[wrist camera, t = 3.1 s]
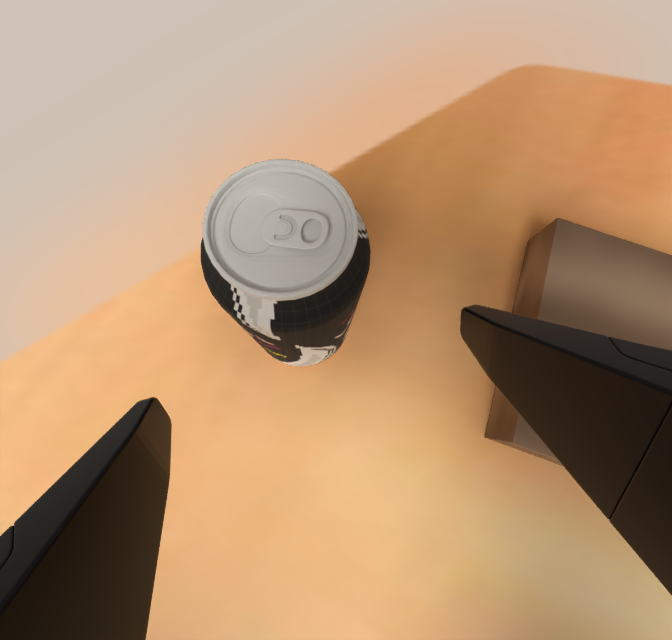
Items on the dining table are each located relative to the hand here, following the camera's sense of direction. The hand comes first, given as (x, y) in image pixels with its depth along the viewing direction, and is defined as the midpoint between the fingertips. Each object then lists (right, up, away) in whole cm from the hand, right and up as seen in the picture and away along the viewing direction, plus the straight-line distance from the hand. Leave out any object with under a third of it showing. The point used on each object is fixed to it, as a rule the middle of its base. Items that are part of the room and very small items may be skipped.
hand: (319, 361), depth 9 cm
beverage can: (-2, +1, +12) cm, 12 cm away
